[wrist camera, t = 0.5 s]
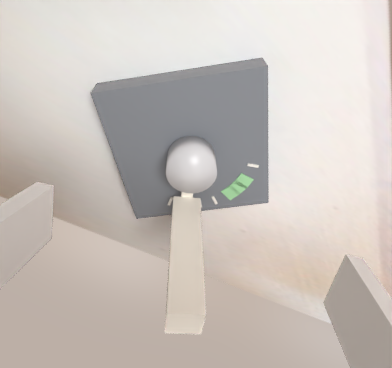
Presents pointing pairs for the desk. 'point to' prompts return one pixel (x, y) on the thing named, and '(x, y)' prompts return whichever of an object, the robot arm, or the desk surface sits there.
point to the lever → (187, 234)
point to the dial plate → (189, 132)
